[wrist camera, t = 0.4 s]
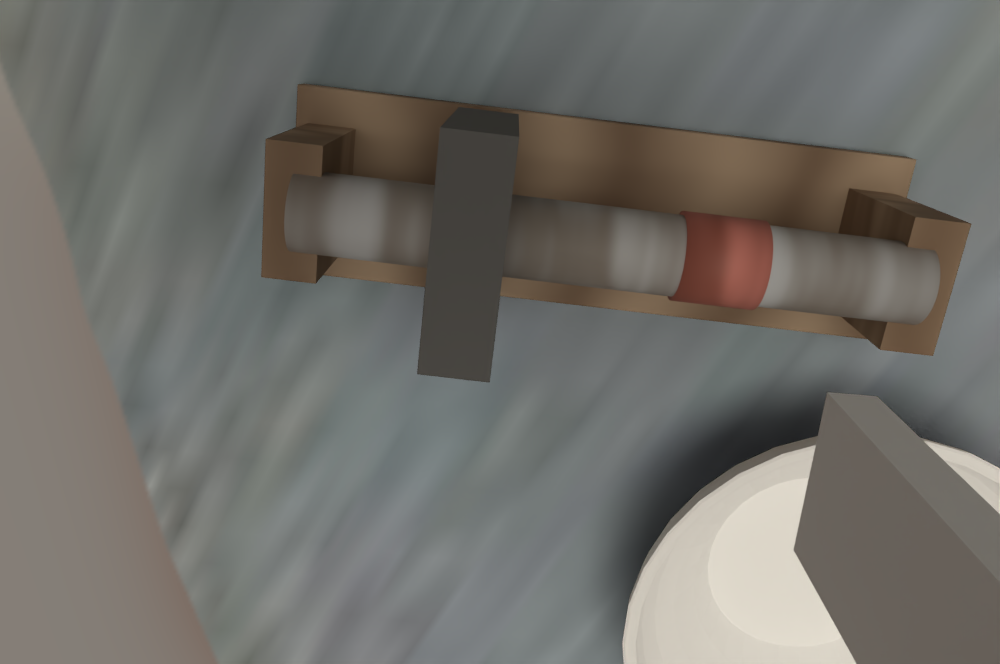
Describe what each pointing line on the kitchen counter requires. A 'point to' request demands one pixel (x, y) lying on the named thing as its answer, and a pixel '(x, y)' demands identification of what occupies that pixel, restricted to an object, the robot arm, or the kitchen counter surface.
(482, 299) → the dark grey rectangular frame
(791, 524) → the bowl
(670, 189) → the pipe stand
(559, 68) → the kitchen counter surface
